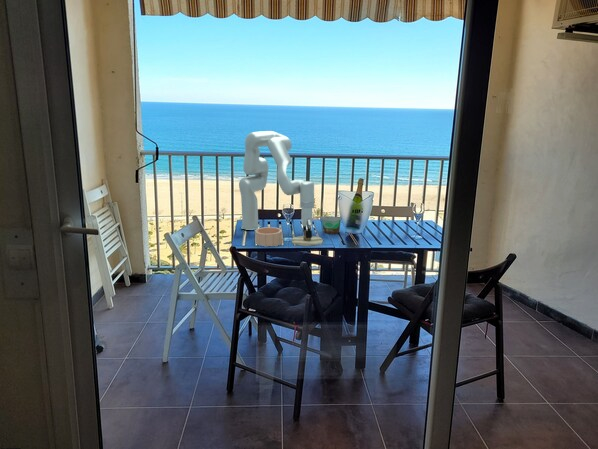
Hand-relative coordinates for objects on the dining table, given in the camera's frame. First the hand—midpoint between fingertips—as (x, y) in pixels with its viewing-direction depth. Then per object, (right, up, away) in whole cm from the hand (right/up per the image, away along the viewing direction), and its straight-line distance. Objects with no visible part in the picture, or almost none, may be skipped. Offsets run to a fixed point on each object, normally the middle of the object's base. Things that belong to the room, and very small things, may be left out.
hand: (307, 235), depth 239 cm
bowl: (-21, -4, -2) cm, 21 cm away
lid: (0, -4, +1) cm, 4 cm away
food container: (+14, +1, +16) cm, 22 cm away
